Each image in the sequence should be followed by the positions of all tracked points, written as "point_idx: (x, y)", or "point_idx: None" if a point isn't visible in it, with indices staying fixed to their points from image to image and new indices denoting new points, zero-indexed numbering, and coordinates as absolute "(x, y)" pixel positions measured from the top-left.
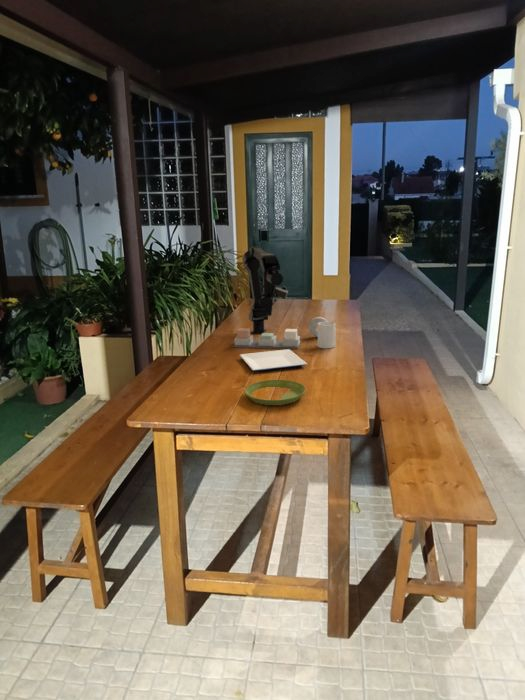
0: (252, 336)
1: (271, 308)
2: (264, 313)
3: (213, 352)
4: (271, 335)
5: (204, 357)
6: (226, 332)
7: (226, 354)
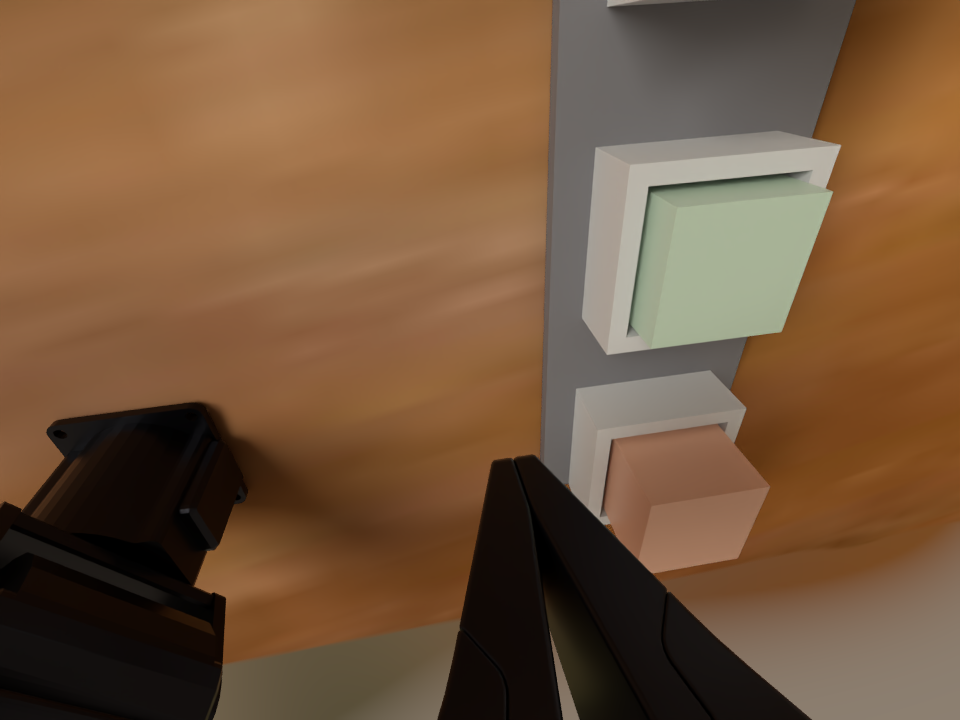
0: (609, 420)
1: (701, 630)
2: (64, 622)
3: (787, 506)
4: (808, 199)
5: (875, 505)
6: (297, 618)
7: (857, 434)
